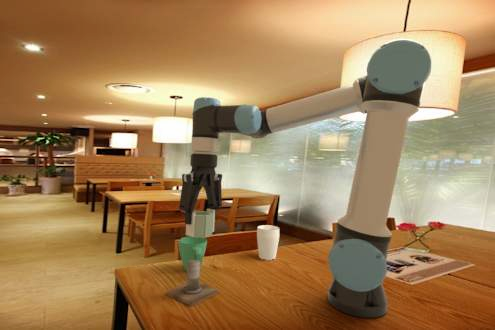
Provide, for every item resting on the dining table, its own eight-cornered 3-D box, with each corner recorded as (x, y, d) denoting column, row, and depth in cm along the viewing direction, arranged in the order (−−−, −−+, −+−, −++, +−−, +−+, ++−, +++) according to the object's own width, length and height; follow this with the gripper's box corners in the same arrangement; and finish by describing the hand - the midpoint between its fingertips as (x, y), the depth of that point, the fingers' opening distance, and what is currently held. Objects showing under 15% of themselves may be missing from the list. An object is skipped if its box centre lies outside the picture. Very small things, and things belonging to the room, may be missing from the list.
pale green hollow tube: (217, 234, 84) (218, 214, 84) (199, 239, 79) (200, 216, 79) (200, 229, 89) (201, 210, 88) (182, 233, 83) (183, 212, 83)
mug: (174, 265, 103) (175, 237, 103) (201, 262, 107) (202, 235, 107) (183, 281, 90) (184, 249, 90) (213, 277, 94) (214, 246, 94)
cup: (278, 254, 120) (279, 225, 120) (278, 262, 111) (279, 230, 111) (256, 253, 121) (257, 224, 120) (255, 260, 112) (256, 229, 112)
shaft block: (217, 293, 83) (218, 261, 83) (191, 306, 75) (192, 271, 75) (193, 283, 89) (194, 254, 89) (166, 294, 81) (167, 262, 81)
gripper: (218, 154, 93) (215, 225, 94) (167, 151, 77) (163, 236, 78) (236, 155, 89) (232, 230, 89) (185, 151, 73) (181, 242, 73)
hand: (200, 233), depth 83 cm, fingers closed on pale green hollow tube, 7 cm apart
